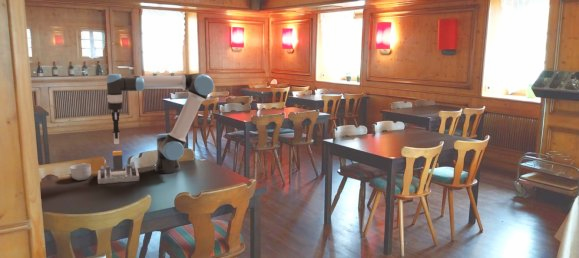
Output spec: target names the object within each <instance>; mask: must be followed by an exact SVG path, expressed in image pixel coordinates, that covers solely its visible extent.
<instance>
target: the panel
mask: <svg viewBox="0 0 579 258" xmlns="http://www.w3.org/2000/svg"><path fill="white" fill-rule="evenodd" d="M110 167H111V166H110V165H105V169H104V174H105V178H101V169H99V170H97V184H98V185H103V184H114V183H115V184H116V183H117V184H118V183H129V182H139V181H140V174H139V170H138V167H135V169H136V175H132V170H131V163H128V164H125V169H126V171H115V172H111V168H110Z"/></svg>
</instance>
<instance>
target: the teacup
mask: <svg viewBox="0 0 579 258" xmlns="http://www.w3.org/2000/svg"><path fill="white" fill-rule="evenodd" d="M69 169H70V175H71V178H72V179H73V180H75V181H86V180H88V179H89V177H91V176H92V175H91V174H92V167H91V164H90V163H86V162H82V163H78V164H73V165H71V166H70V167H69Z"/></svg>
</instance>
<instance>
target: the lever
mask: <svg viewBox="0 0 579 258" xmlns="http://www.w3.org/2000/svg"><path fill="white" fill-rule="evenodd" d="M112 164H113V168H110V170H111V172H115V171H126V167H124V166H123V151H122V150H114V151H112Z"/></svg>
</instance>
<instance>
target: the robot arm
mask: <svg viewBox="0 0 579 258" xmlns="http://www.w3.org/2000/svg"><path fill="white" fill-rule="evenodd" d="M214 83H215V82H214V81H213V78H211V77H210V75H207V74H204V73H199V72H197V73H185V74H182V75H130V74H129V75H126V76H124V77H122V74H121V73H108V74H107V76H106V91H107V95H106V98H107V109H108V110H110V111H111V117H112V122H113V123H112V124H113V125H112V126H113V131H112V132H111V133H112V134H113V144H114V145H120V132H121V131H120V129H119V121H120V112H118V111H120V110H122V109H123V92H142V91H144V90H146V89H147V90H148V89H150V90H151V89H154V90H155V89H159V90H160V89H161V90H162V89H165V90H166V89H182V90H183V91H187V94H188V96H187V99H185V100H186V101H185V103H184V105H183V107H182V109H181V111H180V113H179V116H178V118H177V119H176V122H175V124H174V127H173V128H172V130H171V132H168V133H159V134H157V135H156V150H157V157H156V161H155V165H154V172H156V173H159V174H172V173H173V174H174V173H176V172H179V171H180V170H181V166H180V163H179V159H181V158H182V157H183V155H184V152H185V146H186V143H187V140H186V137H187V134H188V133H189V130H190V129H191V126H192V124H193V122H194V121H195V117H196V115H197V113H198V111H199V110H200V108H201V106H202V105H201V104H202V103H203V102H204V101H206V100H207V98H208V96H209V95H211V93H212V92H213V91H214V89H215V84H214Z"/></svg>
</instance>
